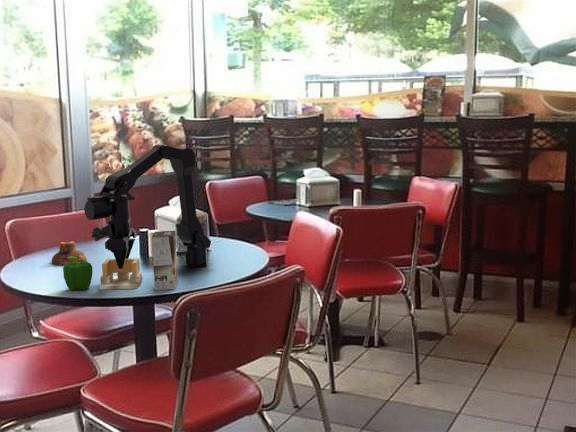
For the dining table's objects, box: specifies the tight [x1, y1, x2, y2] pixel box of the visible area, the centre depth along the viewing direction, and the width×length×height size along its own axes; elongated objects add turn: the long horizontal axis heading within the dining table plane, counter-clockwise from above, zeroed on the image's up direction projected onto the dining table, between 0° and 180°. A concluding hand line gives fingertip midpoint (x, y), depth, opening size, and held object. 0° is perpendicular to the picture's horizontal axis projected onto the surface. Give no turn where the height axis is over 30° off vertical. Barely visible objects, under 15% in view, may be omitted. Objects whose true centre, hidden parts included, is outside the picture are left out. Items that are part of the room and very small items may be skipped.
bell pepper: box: [62, 256, 94, 291], centre depth 211 cm, size 8×8×10 cm
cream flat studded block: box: [99, 271, 144, 290], centre depth 216 cm, size 11×12×3 cm
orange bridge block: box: [101, 257, 141, 277], centre depth 216 cm, size 10×7×4 cm, turn 92°
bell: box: [50, 240, 87, 266], centre depth 247 cm, size 12×12×7 cm
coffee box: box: [151, 230, 179, 291], centre depth 212 cm, size 9×6×16 cm
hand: (122, 265), depth 218 cm, fingers open, 7 cm apart
